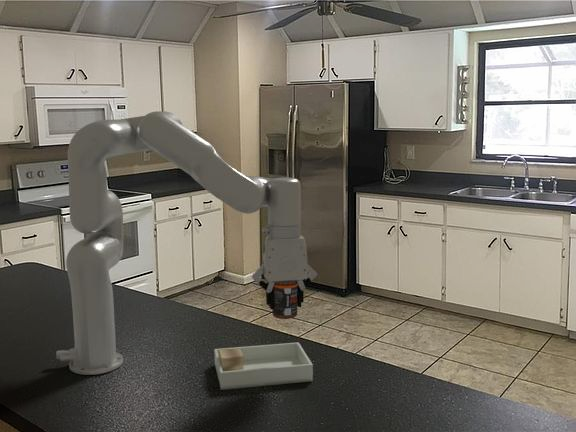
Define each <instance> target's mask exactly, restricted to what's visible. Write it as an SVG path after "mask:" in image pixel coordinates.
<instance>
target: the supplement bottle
mask: <svg viewBox="0 0 576 432" xmlns="http://www.w3.org/2000/svg"><path fill="white" fill-rule="evenodd" d="M297 286H298V285H297V281H284V282H275V283H274V286H273V288H272V291H273V293H274V309H271V311H272V316H273V317H274V318H276V319H280V320H290V319H294V318H296V317H298V306H297Z"/></svg>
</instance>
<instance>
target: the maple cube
mask: <svg viewBox="0 0 576 432" xmlns="http://www.w3.org/2000/svg"><path fill="white" fill-rule="evenodd" d="M219 359H220V362H221V366H222V370H223V372H224V371H235V370H244V368H243V354H242V352H241V349H240V348H239V349H228V350H219Z"/></svg>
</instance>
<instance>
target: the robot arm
mask: <svg viewBox="0 0 576 432" xmlns="http://www.w3.org/2000/svg"><path fill="white" fill-rule="evenodd" d="M67 148H68V149H67V168H68V170H67V171H68V202H69V203H68V204H69V205H68V206H69V220H70V223H71V225H72V227H73V228H74V230H76V231H77V232H79V233H82V234H85V236H86V237H85V238H83V239H81V240H79V241H78V242H76V243H75V244H73V245H72V247H70V250H69V251H68V252H67V255H66V260H65V266H66V271H67V276H68V280H69V284H70V285H69V287H70V292H71V293H70V294H71V306H72V323H73V335H74V336H73V338H74V347H73V348H70V349H69V350H65V349H64V350H62V349H61V350H56V351H55V352H56V354H55V356H56V358H55V359H56V360H59V361H60V362H66V361H70V362H69V363H68V366H69V368H68V369H69V371H71V372H72V373H75V374H78V375H84V376H91V375H93V376H94V375H95V376H96V375H101V374H106V373H109V372H112V371H115V370H116V369H118V368H120V367H121V366H122V365H123V363H124V358H123V355H122V354H121V353H119V352H117V345H116V328H115V327H116V326H115V325H116V324H115V307H114V306H115V303H114V291H113V284H112V282H111V281H112V280H111V278H110V270H111V269H112V268H113V267H115V266H116V265H117V264H118V263H119V262H120V261H121V259H122V258H123V253H124V213H123V206H122V202H121V200H120V199H119V197H118V196H117V194H116V193H114V192H113V191H111V190H110V189H108V186H107V185H108V175H107V170H106V166H105V161H106V160H107V159H108V158H111V157H118V156H123V155H128V154H133V153H139V152H146V151H147V152H148V151H151V150H152V151H154V152H155V153H156V154H158V155H159V156H161V157H163V158H164V159H165V160H167V161H169V162H170V163H172V164H173V165H174V166H176V167H178V168H179V169H181V170H182V171H184V172H185V173H187V174H188V175H189V176H191V178H192V179H193V180H194V181H195V182H197V183H198V184H199V185H200V186H201V187H203V188H204V190H205V191H207V192H208V193H210V194H211V195H213V197H215V198H216V199H218V200H219V201H221V202H223V203H224V204H225V205H227V206H228V207H230V208H232V209H233V210H235V211H236V212H238V213H240V214H241V213H242V214H247V215H249V214H255V213H256V212H258V211H259V210H260V209H261V208H262V207H267V225H266V226H265V227H261V231H262V234H265V235H266V234H267V236H266V237H265V239H264V243H263V244H264V246H263V254H262V265H261V266H260V267H258V268H257V270H256V271H255V272H254V273H253V274H252V275H251V278H252V280H253V281H254V282H256V283H257V284H258V286H260V287H261V288H262V289H263V290H264V291H265V301H266V305H267V306H268V308H269V309H270V310H272V309H274V293H273V291H272V288H273V286H274V283H275V282H284V281H297V308H302V303H304V299H305V296H304V293H305V290H306V289H307V287H308V286H309V285H310V284H311V282H312V281H313V280H314V279H316V277H317V276H318V272H317V271H315V270H314V269H313V268H312V267H311V265H309V264H308V263H309V262H308V252H307V245H306V239H305V236H303V235H302V234H301V233H302V232H301V231H302V229H301V228H302V226H301V225H302V224H301V223H302V212H301V211H302V208H301V207H302V188H301V187H302V186H301V181H300V180H299V179H297V178H294V177H275V178H274V177H273V178H272V177H271V178H270V177H263V176H257V175H256V176H255V175H253V176H252V175H251V176H247V177H246V176H245V175H244V174H242V173H241V172H239V171H237V169H235V168H233V167H232V166H231V165H229V164H228V163H227V162H226V161H225V160H223V158H222V157H221V156H220V155H219V154H218V153H217V151H216V149H215V148H214V146H213V145H212V144H211V143H210V142H209V141H207V140H205V139H203V138H202V137H201V136H199V135H198V134H196V133H195V132H194V131H191V130H190V129H189V128H187V127H186V126H184V125H183V123H182V121H181V119H180V117H178V116H177V115H176V114H174V113H172V112H170V111H165V110H163V111H151V112H148V113H147V114H145V115H141V116H140V115H139V116H134V117H128V118H120V119H101V120H97V121H93V122H91V123H88V124H86V125H84V126H83V127H81V128H79V130H77V131H76V132H75V133H74V134H73V136H72V137H71V139H70V142H69V144H68V147H67ZM262 275H263V277H264V279H265V280H266V282H265V281H264V280H263V279H262V278H261V276H262Z"/></svg>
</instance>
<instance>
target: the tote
mask: <svg viewBox="0 0 576 432" xmlns="http://www.w3.org/2000/svg"><path fill="white" fill-rule="evenodd" d="M239 348H240V349H241V352H242V354H243V368H244V370H235V371H224V372H223V370H222V366H221V362H220V359H219V350H228V349H239ZM313 367H314V364H313V363H312V361H311V359H310V357H308V355H307V353H306V352H305V350H304V348H303V347H302V344H300V342H289V343H288V342H287V343H274V344H261V345H249V346H237V347H225V348H224V347H223V348H214V368H215V371H216V376H217V380H218V383H219V387H220V390H222V391H223V390H232V389H233V390H234V389H243V388H252V387H263V386H273V385H274V386H275V385H285V384H287V385H288V384H296V383H297V384H298V383H306V382H313V379H314V377H313V376H314V375H313V374H314V368H313Z"/></svg>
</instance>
